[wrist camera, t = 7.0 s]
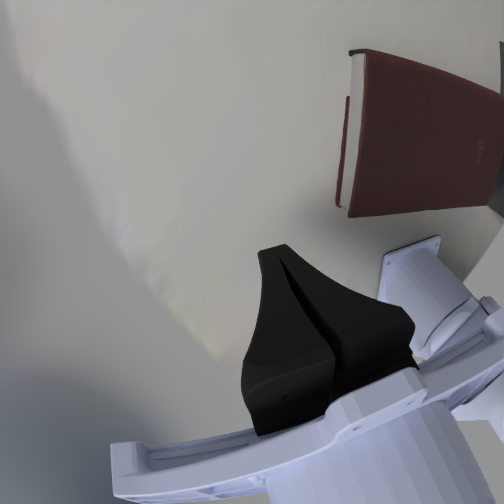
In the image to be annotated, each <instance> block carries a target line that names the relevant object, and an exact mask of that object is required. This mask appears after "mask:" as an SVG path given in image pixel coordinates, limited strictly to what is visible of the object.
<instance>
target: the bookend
mask: <svg viewBox="0 0 504 504" xmlns="http://www.w3.org/2000/svg"><path fill="white" fill-rule="evenodd" d="M500 52H501V95H503V96H504V42H500ZM487 205H488V206H489V207H490V208H492V209H493V210H494V211H496V212H497V213H498V214H499V215H501V216H502V217H503V218H504V152H503V157H502V160H501V164H500V167H499V171H498V175H497V179H496V182H495V185H494V188H493V191H492V194H491V197H490V199H489V201H488V203H487Z"/></svg>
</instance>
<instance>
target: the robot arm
mask: <svg viewBox="0 0 504 504" xmlns="http://www.w3.org/2000/svg"><path fill="white" fill-rule="evenodd" d="M440 242H441V237H440V236H435V237H432V238H430V239H427V240H424V241H422V242H419V243H416V244H413V245H410V246H408V247H405V248H402V249H399V250H396V251H394V252H391V253H388V254H386V255H385V256H384V260H383V266H382V273H381V279H380V285H379V291H378V296H377V300H376V299H373V298H370V297H367V296H364V295H362V294H360V293H357V292H355V291H353V290H350V289H348V288H346V287H344V286H343V285H341V284H339V283H337V282H335V281H334V280H332V279H330V278H329V277H327V276H326V275H324V274H323V273H321V272H320V271H318V270H317V269H316V268H314V267H313V266H312V265H310V264H309V263H308V262H306V261H305V260H304V259H303V258H301V257H300V256H299V255H298V254H297V253H296V252H294V251H293V250H292V249H291V248H290V247H289V246H288V245H286V244H283V245H279V246H275V247H272V248H268V249H265V250H261V251H259V252H258V258H259V263H260V269H261V274H262V289H261V301H260V308H259V314H258V318H257V323H256V327H255V330H254V333H253V337H252V340H251V343H250V346H249V348H248V351H247V353H246V355H245V358H244V360H243V367H242V375H241V391H242V395H243V399H244V402H245V405H246V407H247V408H248V410H249V412H250V414H251V418H252V421H253V425H254V428H250V429H246V430H242V431H238V432H234V433H229V434H224V435H220V436H215V437H210V438H204V439H199V440H193V441H187V442H181V443H174V444H167V445H160V446H150V447H147V446H146V445H144V444H143V443H141V442H136V441H129V442H116V443H111V463H112V480H113V493H114V496H115V497H119V498H122V499H125V500H130V501H133V502H137V503H142V504H162V503H184V502H198V501H210V500H219V499H227V498H234V497H241V496H247V495H254V494H259V493H264V492H267V493H268V496H269V499H270V503H271V504H496V502H495V499H494V497H493V495H492V493H491V490H490V488H489V486H488V484H487V481H486V479H485V477H484V475H483V473H482V471H481V469H480V467H479V465H478V463H477V461H476V459H475V457H474V455H473V453H472V451H471V449H470V447H469V445H468V443H467V441H466V439H465V438H464V436H463V434H462V432H461V430H460V428H459V426H458V425H457V423H456V421H455V419H456V420H458V421H467V420H488V422H489V423H490V425H491V426H492V428H493V429H494V431H495V432H496V434H497V435H498V437H499V438H500V440H501V441H502V443H503V445H504V310H503V309H502V308H501V307H500V306H499V305H498V304H497V303H496V301H495V300H494V299H492V297H484V296H483V297H482V298H481V300H480V301H479V300H477V299H476V298H475V297H474V296H473V295H472V294H471V292H470V291H469V290H468V289H467V288H466V287H465V286H464V285H463V283H462V282H461V281H460V280H459V279H458V278H457V277H456V276H455V275H454V274H453V273H452V272H451V271H450V269H449V268H448V267H447V266H446V265H445V264H444V263H443V262H442V261H441V260H440V259H439V258H438V257H437V254H438V250H439V246H440ZM412 355H415V356H417V357H421V358H424V360H423V361H422V362H421V363H420V364H419V365H417V363H416V362H415V360H414V359H413V357H412ZM454 417H455V419H454Z"/></svg>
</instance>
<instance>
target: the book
mask: <svg viewBox="0 0 504 504" xmlns="http://www.w3.org/2000/svg"><path fill="white" fill-rule="evenodd" d="M349 56H352V73H351V89H350V96H347V97H346V109H345V119H344V127H343V138H342V145H341V159H340V165H339V173H338V181H337V191H336V206H338V207H339V208H340V207H342V206H343V207H344V208H345V209H346V210H347V211H348V216H347V217H348V218H358V217H367V216H380V215H390V214H400V213H409V212H417V211H424V210H437V209H447V208H457V207H472V206H485V205H487V203H488V201H489V199H490V197H491V194H492V191H493V188H494V185H495V182H496V179H497V175H498V171H499V167H500V164H501V160H502V157H503V152H504V96H503V95H501V94H499V93H497V92H495V91H492V90H490V89H487V88H485V87H483V86H480V85H478V84H476V83H473V82H471V81H469V80H466V79H464V78H461V77H459V76H456V75H454V74H451V73H448V72H445V71H442V70H440V69H437V68H434V67H431V66H428V65H424V64H421V63H418V62H415V61H412V60H409V59H405V58H402V57H398V56H394V55H391V54H387V53H383V52H379V51H375V50H370V49H356V50H350V51H349Z"/></svg>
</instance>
